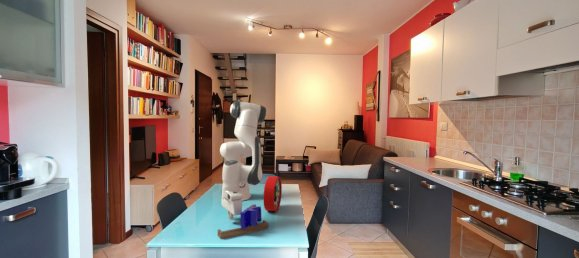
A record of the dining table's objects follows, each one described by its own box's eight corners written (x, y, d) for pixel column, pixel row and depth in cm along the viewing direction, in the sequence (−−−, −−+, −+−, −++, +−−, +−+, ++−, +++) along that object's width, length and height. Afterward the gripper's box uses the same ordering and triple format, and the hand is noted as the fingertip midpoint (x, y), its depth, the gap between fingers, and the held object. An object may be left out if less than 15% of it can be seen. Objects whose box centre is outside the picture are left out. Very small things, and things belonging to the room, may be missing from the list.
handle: (217, 236, 129) (217, 227, 129) (264, 226, 142) (264, 218, 142) (220, 239, 125) (220, 230, 125) (268, 228, 138) (268, 220, 138)
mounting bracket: (241, 228, 130) (253, 228, 129) (240, 213, 130) (252, 213, 129) (253, 218, 148) (264, 218, 146) (252, 204, 148) (263, 204, 147)
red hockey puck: (273, 216, 157) (273, 180, 156) (263, 215, 158) (263, 179, 157) (281, 205, 176) (281, 173, 176) (272, 204, 178) (272, 173, 177)
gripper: (218, 188, 152) (218, 214, 152) (232, 197, 135) (232, 226, 135) (229, 187, 155) (229, 212, 156) (244, 196, 138) (244, 223, 138)
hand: (230, 219), depth 145 cm, fingers closed
